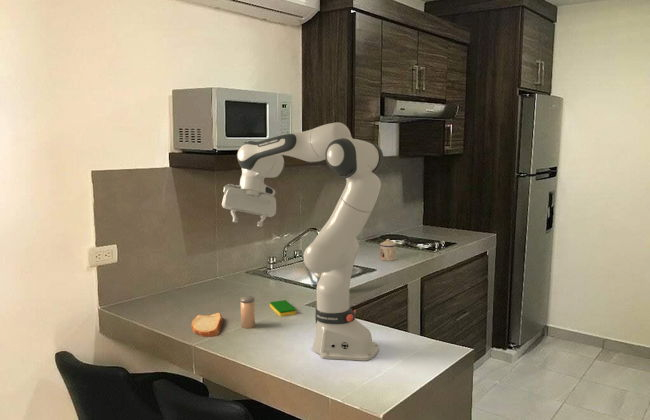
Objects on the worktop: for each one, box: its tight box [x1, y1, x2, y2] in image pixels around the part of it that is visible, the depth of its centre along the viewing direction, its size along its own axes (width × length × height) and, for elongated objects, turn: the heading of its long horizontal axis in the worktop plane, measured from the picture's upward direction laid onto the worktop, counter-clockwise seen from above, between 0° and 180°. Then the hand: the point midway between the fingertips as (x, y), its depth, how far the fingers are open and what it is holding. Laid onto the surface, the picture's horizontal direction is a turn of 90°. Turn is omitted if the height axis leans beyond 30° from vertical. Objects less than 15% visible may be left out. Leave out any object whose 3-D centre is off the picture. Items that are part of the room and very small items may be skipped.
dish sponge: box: [269, 299, 297, 317], centre depth 230 cm, size 7×14×2 cm, turn 23°
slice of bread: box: [191, 312, 224, 338], centre depth 212 cm, size 18×18×4 cm
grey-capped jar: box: [239, 295, 256, 329], centre depth 211 cm, size 5×5×11 cm
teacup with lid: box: [379, 238, 397, 262], centre depth 313 cm, size 12×9×12 cm
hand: (247, 224), depth 203 cm, fingers open, 8 cm apart
